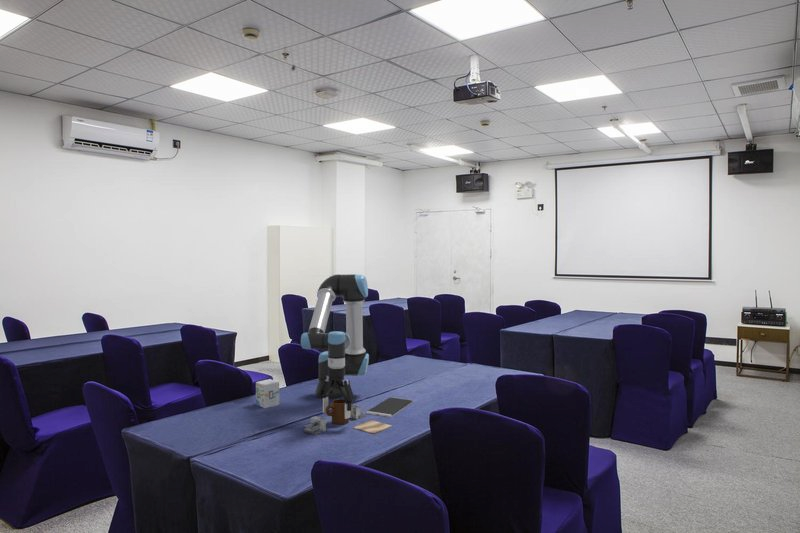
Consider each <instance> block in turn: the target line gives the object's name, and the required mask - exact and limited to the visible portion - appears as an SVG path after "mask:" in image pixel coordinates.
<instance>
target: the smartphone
mask: <svg viewBox="0 0 800 533" xmlns="http://www.w3.org/2000/svg"><path fill="white" fill-rule="evenodd" d="M412 403H414V400H413V399H409V398H408V399H407V398H400V397H394V396H393V397H392V396H390V397H388V398H386V399H385V400H382V402H380V403H378V404H376V405H375V406H373V407H372V408H370V409H368V410H367V411H365V414H366V415H371V416H379V417H384V418H385V417H386V418H393V417H394V416H396V415H397V414H398V413H400V412H401V411H402V410H404V409H405V408H407V407H408V406H410V405H411V404H412Z"/></svg>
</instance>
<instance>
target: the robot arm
mask: <svg viewBox="0 0 800 533" xmlns="http://www.w3.org/2000/svg"><path fill="white" fill-rule="evenodd" d="M368 285H369V284H368V281H367V277H366V276H365V275H363V274H333V275H330V276H329V277H327V278H326V279H325V280H324V281H323V282H322V283H321V284H320V285H319V288H318V289H317V293H316V297H317V300H316V303H315V306H314V307H315V308H314V310H313V314H312V318H311V322H310V325H309V328H308V332H303V333H302V334H301V337H300V345H301V348H302V349H303V350H325V351H322V352H321V353H320V354H319V355H318V361H317V363H318V382H317V385H316V389H315V392H314V395H315V397H317V398H320V399H321V405H322V413H323V414H326V407H327V406H328V405H329V399H335V398H336V399H337V398H340V397H343V398H342V399H345V401H346V403H345V419H347V418H349V419H351V418H350V411H351V405H352V403H355V402H356V399H355V396H354V393H353V389H352V386H351V383H350V382H351V381H350V379H344V378H345V377H346V376H348V377H349V376H350V377H363V376H366V374H367V371H368V367H369V360H370V355H369V353H367V350H366V349H365V347H364V340H363V339H364V337H363V336H364V333H363V332H364V331H363V330H364V328H363V326H364V325H363V303H364V302H365V301H366V298H368V296H369V286H368ZM337 298H342V302H344V304H345V319H346V320H345V323H346V324H345V325H346V332H344V331H339V330H338V331H336V330H335V331H329V332H327V333H325V332H326V329H327V324H328V321H329V316H330V313H331V308H332V305H333V302H335V300H336V299H337Z"/></svg>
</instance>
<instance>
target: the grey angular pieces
mask: <svg viewBox="0 0 800 533" xmlns="http://www.w3.org/2000/svg"><path fill="white" fill-rule="evenodd" d="M361 410H362V409H361V406H359V405H355V404H351V411H350V418H349V419H354V420H358V419H362V418H365V417H367V414H366V413H364V412H361ZM326 421H327V420H326V418H323V417H320V416H316V415H315V416H312V417H310V423H309V424H302V427H304V428H303V432H306V433H309V434H311V435H314V436H316V435H319V434H321V433H324V432H326V430H327V429H326V424H327V422H326Z"/></svg>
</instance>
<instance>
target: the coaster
mask: <svg viewBox="0 0 800 533" xmlns="http://www.w3.org/2000/svg"><path fill="white" fill-rule="evenodd" d="M392 427H393V425H391V424H387V423H383V422H380V421H376V420H373V419H371V420H368V421H365V422H363V423H360V424H358V425H355V426H354V427H353V428H352V429H355V430H358V431H362V432H365V433H368V434H372V435H375V434H378V433H381V432H383V431H385V430H387V429H390V428H392Z"/></svg>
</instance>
